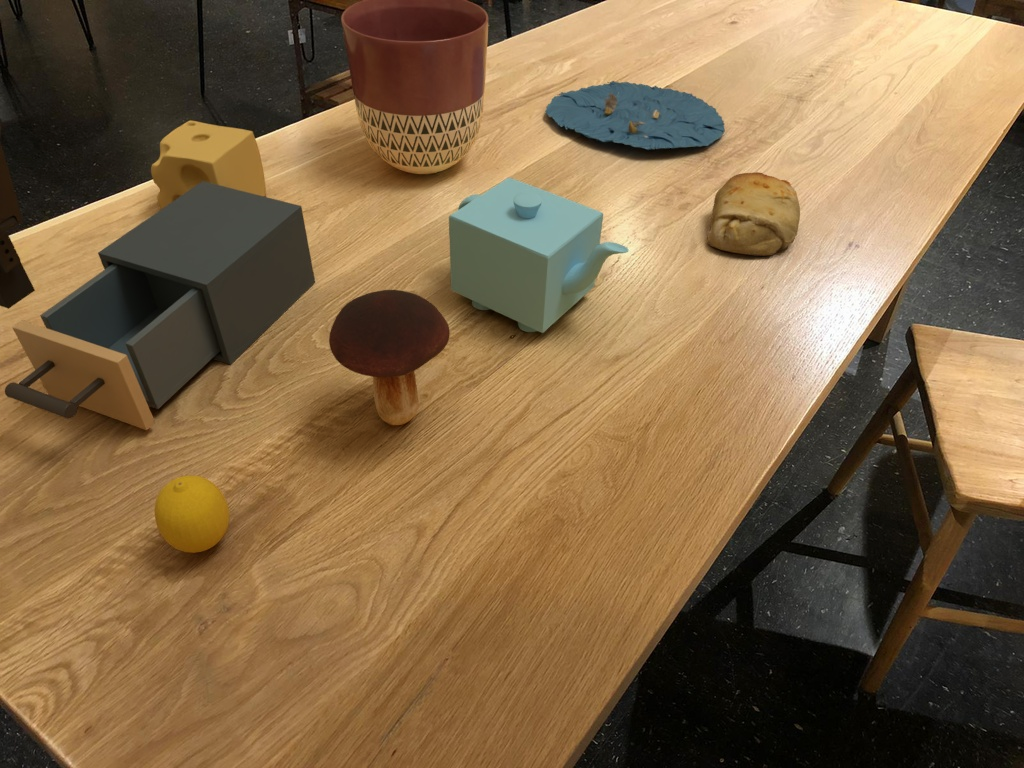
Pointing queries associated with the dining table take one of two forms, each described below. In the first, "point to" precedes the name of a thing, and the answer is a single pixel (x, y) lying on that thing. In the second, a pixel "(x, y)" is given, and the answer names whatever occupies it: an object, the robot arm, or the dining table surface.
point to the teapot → (526, 252)
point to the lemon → (191, 513)
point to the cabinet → (225, 257)
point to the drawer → (117, 346)
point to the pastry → (754, 215)
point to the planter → (418, 78)
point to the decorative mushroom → (389, 346)
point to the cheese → (207, 161)
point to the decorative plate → (638, 115)
